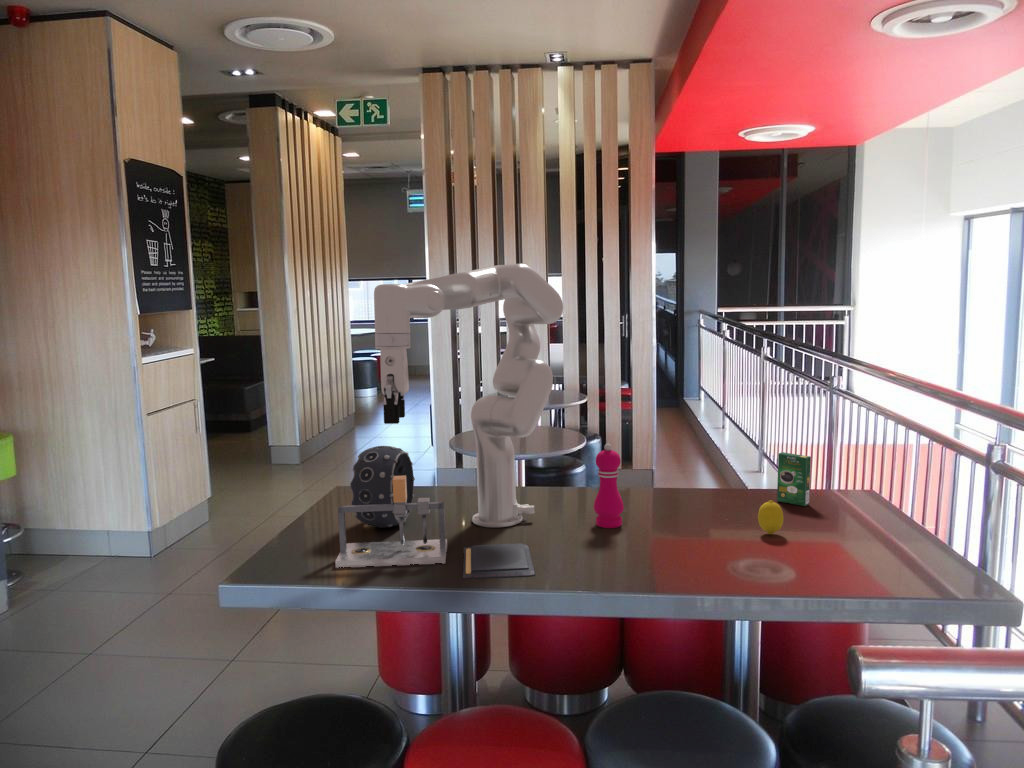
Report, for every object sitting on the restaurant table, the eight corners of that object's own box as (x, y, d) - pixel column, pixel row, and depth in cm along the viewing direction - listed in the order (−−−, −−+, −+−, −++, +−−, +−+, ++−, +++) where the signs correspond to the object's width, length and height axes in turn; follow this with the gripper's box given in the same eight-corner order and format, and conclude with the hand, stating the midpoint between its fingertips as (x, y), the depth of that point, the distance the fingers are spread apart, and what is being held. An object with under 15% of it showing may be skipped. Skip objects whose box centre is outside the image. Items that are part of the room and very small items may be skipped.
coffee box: (811, 504, 199) (811, 455, 197) (806, 507, 197) (806, 457, 195) (781, 499, 205) (782, 451, 203) (776, 501, 203) (776, 453, 201)
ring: (418, 515, 200) (415, 439, 197) (392, 538, 180) (388, 455, 178) (379, 514, 201) (375, 439, 199) (349, 537, 182) (345, 454, 180)
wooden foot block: (409, 541, 169) (406, 475, 167) (407, 547, 165) (404, 479, 164) (397, 542, 169) (394, 475, 167) (395, 547, 165) (392, 479, 163)
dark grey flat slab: (535, 570, 152) (459, 573, 152) (535, 579, 152) (459, 582, 152) (530, 539, 172) (463, 542, 172) (531, 547, 172) (463, 550, 172)
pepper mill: (590, 527, 184) (589, 445, 182) (598, 519, 191) (597, 440, 189) (619, 530, 182) (618, 447, 180) (627, 521, 188) (626, 441, 186)
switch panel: (447, 545, 174) (445, 492, 172) (445, 563, 162) (443, 506, 160) (345, 549, 172) (342, 496, 171) (335, 568, 161) (332, 510, 159)
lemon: (787, 533, 175) (787, 499, 174) (776, 539, 171) (777, 504, 170) (764, 529, 179) (764, 496, 178) (753, 535, 175) (753, 501, 174)
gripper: (405, 343, 156) (407, 425, 158) (414, 340, 174) (416, 415, 175) (368, 343, 156) (371, 426, 158) (381, 340, 174) (383, 415, 175)
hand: (394, 420), depth 167 cm, fingers open, 9 cm apart
